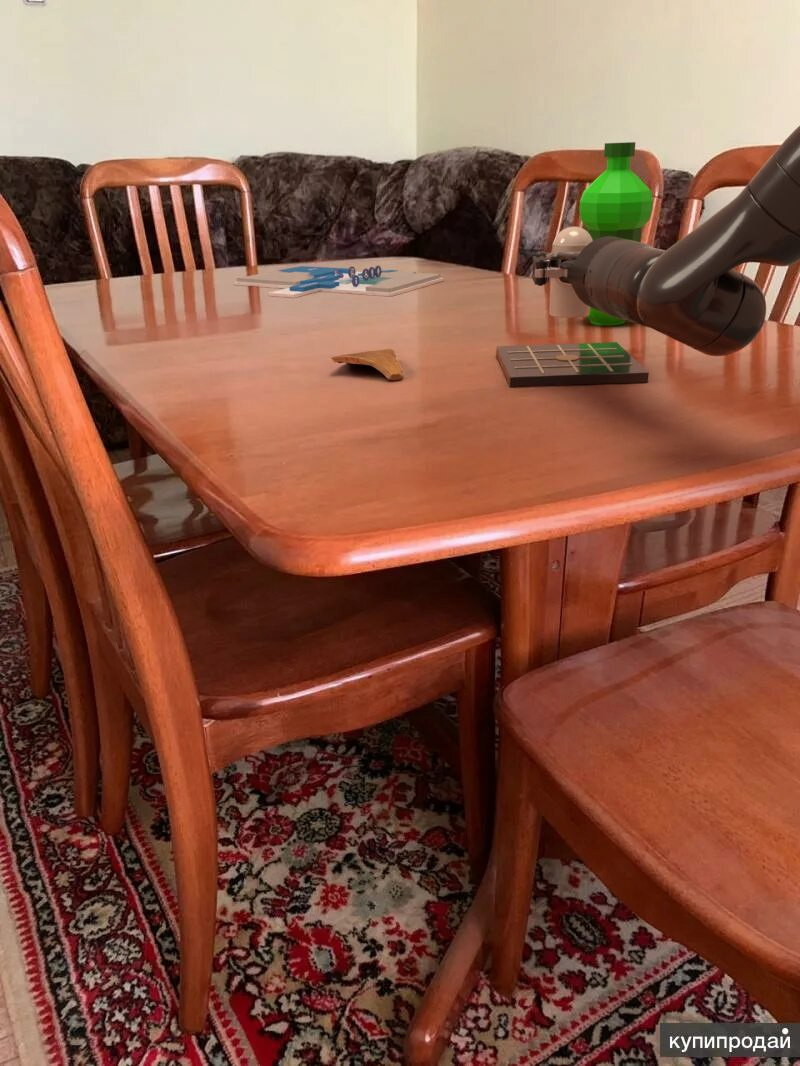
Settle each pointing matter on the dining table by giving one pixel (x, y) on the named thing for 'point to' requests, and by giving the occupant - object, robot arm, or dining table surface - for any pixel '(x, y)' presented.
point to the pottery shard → (375, 362)
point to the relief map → (339, 281)
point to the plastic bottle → (615, 207)
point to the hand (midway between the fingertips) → (564, 260)
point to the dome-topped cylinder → (564, 295)
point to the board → (569, 364)
